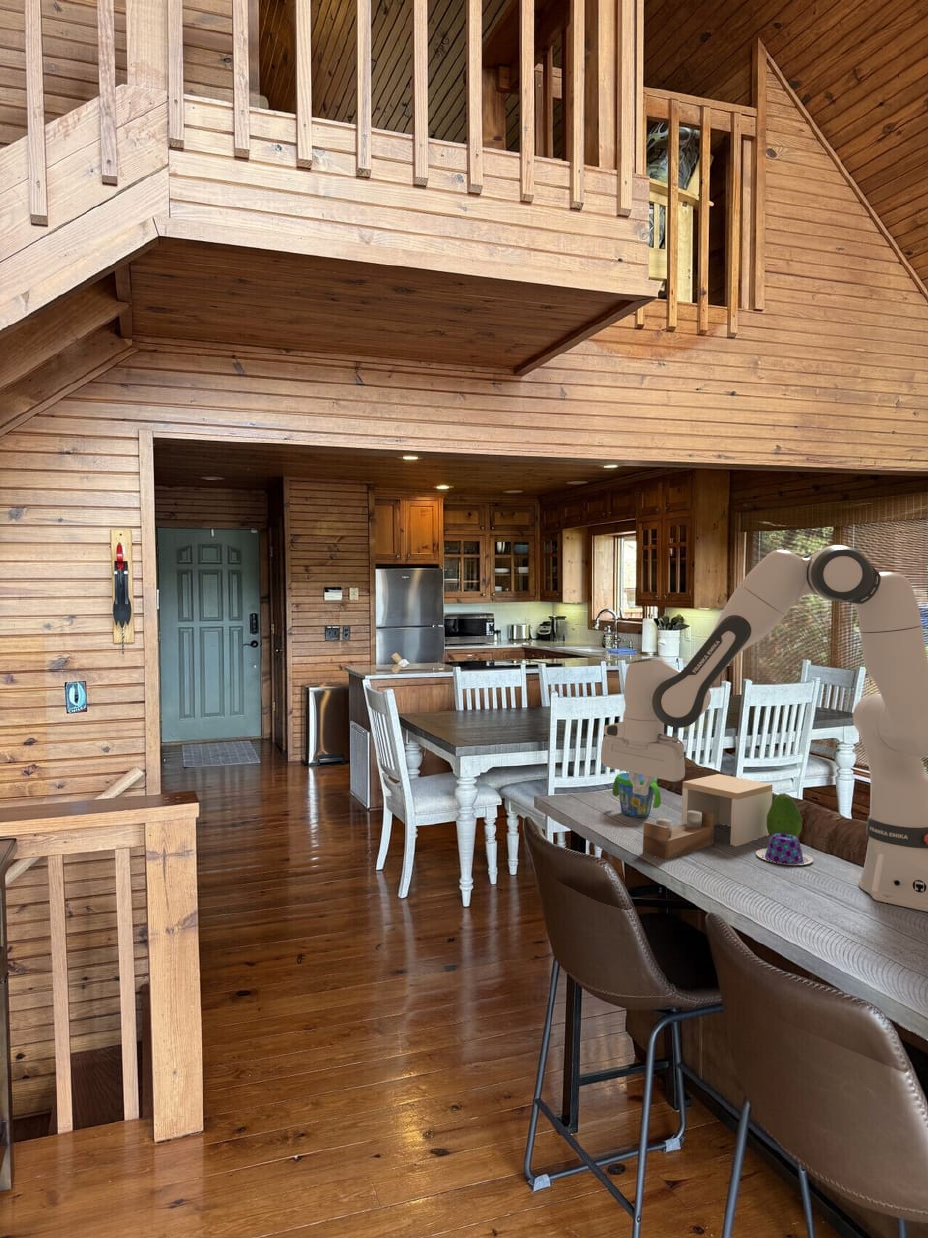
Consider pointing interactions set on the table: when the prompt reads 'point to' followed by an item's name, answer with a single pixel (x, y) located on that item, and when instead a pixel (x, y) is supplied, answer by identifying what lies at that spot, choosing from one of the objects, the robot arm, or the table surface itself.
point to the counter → (730, 804)
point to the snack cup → (635, 796)
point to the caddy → (678, 835)
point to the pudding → (784, 850)
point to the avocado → (784, 816)
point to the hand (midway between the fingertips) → (640, 794)
